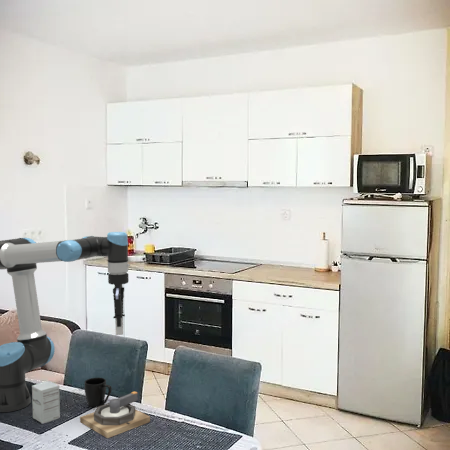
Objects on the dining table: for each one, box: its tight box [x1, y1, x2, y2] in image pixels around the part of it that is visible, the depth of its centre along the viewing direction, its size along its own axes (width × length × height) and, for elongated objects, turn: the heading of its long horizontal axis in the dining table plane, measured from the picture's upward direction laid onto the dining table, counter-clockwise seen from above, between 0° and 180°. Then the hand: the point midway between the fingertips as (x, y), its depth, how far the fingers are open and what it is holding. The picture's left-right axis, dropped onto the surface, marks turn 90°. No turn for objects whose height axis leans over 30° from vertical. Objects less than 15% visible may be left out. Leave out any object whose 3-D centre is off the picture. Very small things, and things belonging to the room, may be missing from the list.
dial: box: [101, 391, 139, 417], centre depth 199 cm, size 15×10×6 cm, turn 140°
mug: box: [84, 377, 113, 408], centre depth 212 cm, size 8×12×10 cm
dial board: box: [79, 402, 151, 439], centre depth 198 cm, size 18×18×4 cm
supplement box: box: [31, 380, 61, 425], centre depth 201 cm, size 7×7×13 cm
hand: (119, 334), depth 207 cm, fingers closed
